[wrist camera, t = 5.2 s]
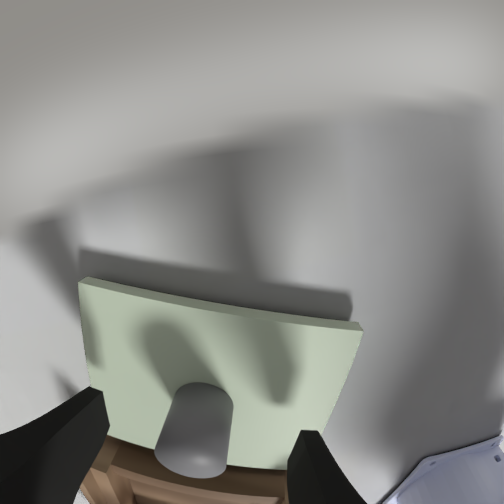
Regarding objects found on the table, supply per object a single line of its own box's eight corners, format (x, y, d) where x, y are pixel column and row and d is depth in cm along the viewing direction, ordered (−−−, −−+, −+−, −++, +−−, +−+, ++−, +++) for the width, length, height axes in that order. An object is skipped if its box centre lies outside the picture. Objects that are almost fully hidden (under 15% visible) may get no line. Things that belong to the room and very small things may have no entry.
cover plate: (301, 460, 12) (307, 516, 9) (107, 424, 12) (80, 472, 9) (358, 322, 10) (394, 383, 7) (87, 276, 10) (28, 314, 6)
